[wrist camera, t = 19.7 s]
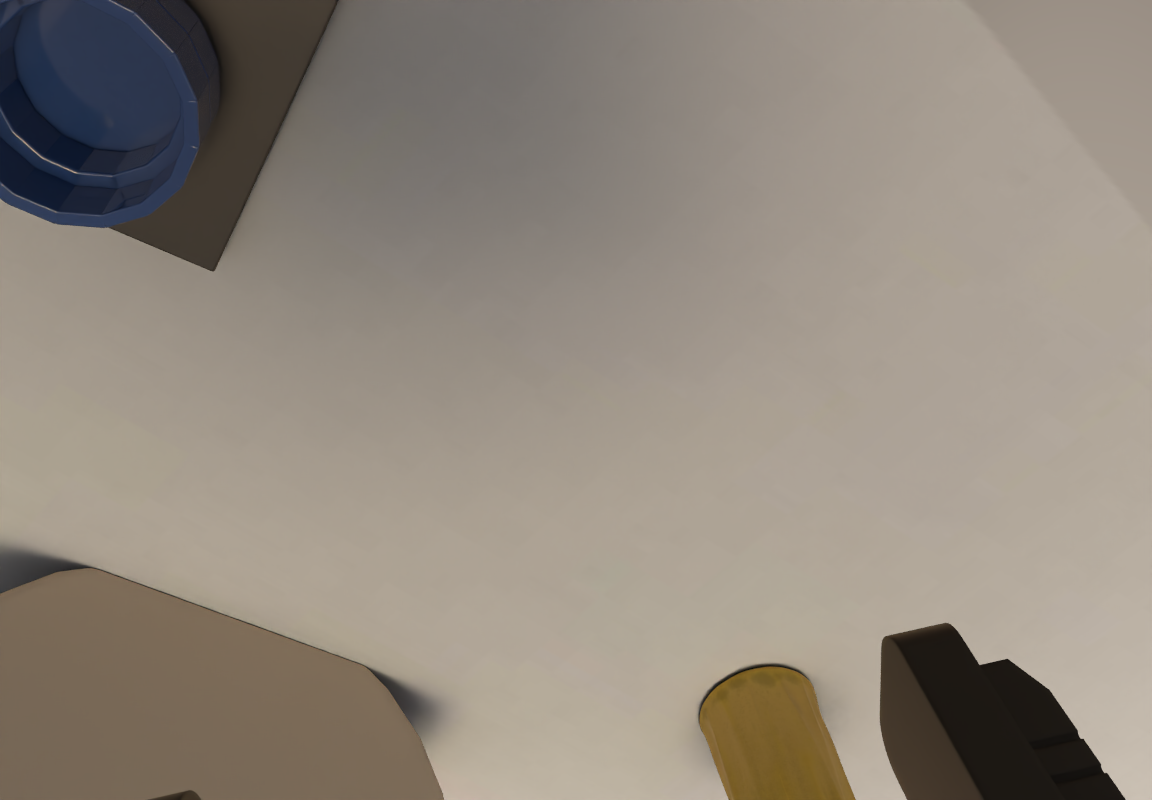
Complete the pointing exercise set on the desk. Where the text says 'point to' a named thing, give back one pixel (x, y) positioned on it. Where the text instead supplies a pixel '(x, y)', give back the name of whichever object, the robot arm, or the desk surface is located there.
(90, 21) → the bowl
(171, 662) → the alarm clock
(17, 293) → the desk surface
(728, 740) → the vase
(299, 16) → the scale
